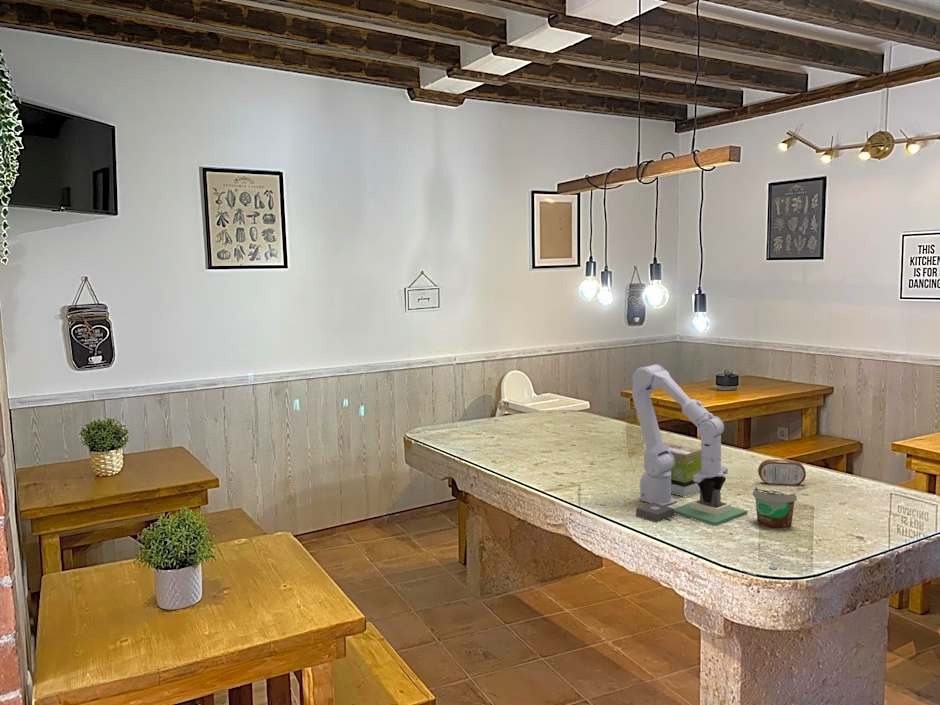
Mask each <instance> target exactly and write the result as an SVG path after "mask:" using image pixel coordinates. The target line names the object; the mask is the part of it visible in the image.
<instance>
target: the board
mask: <svg viewBox="0 0 940 705" xmlns="http://www.w3.org/2000/svg"><path fill="white" fill-rule="evenodd" d="M674 513H676V514H675V515H677V514H679V515H678V516H681V515H682V516H681V517H684V516H686V517H685V518H687V517H689V518H688V519H691V518H693V519H692V520H694V519H696V520H695V521H697V520H699V521H698V522H701V521H702V522H701V523H704V522H706V523H705V524H708V523H709V524H708V525H711V524H712V525H711V526H714V525H715V527H716V526H719V525H722V524H725V523H727V522H730V521H732V519H733V520H735V519H738V518H741V517H743V516H746V515H748V510H746V509H743V508H739V507H734V506H732V504H731V503H729V502H726V501H725V502H724V501H721V507H718V508H714V507H710V506H706V505H703V504H700V498H699V499H695V500H692V501H690V502H688V503H686V504H682V505H679V506H677V507H674ZM740 516H741V517H740ZM734 518H735V519H734ZM729 520H730V521H729ZM721 523H722V524H721Z"/></svg>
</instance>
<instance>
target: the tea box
mask: <svg viewBox="0 0 940 705" xmlns="http://www.w3.org/2000/svg"><path fill="white" fill-rule="evenodd" d="M663 443H664V444H665V445H666V446H667V447H668V448H669V451H670V453H671V454H672V455H673V457H674V459H675V466H674V468H673V469H672V470H671V493H672V494H671V495H675V494H676V495H675V496H678V495H680V496H679V497H681V496H684V497H683V498H686V497H685V496H687V497H689V496H688V495H690V496H692V495H695V494H697V493H696V492H698V493H700V492H699V491H700V487H699V485H698V484H697V482H694V481H693V475H696V474H697V473H698V472H699V471H701V448H696V447H695V448H694V447H690V446H683V445H680V444H675V443H671V442H666V441H665V442H664V441H663ZM694 493H695V494H694ZM691 494H692V495H691Z"/></svg>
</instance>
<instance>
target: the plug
mask: <svg viewBox="0 0 940 705" xmlns="http://www.w3.org/2000/svg"><path fill="white" fill-rule="evenodd" d="M721 497H722V496H721V490H719V489H715V488H713V490H712V499H711V503H707V502H704V500H703V496H702V493H701V490H700V492H699V499H700V504H703V505H706V506H710V507H714V508H718V507H721V502H722V501H721Z"/></svg>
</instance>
